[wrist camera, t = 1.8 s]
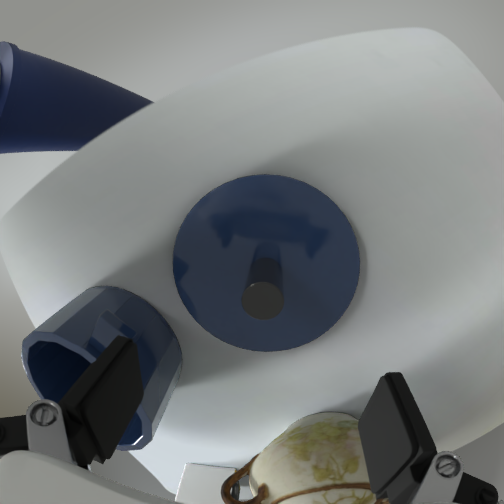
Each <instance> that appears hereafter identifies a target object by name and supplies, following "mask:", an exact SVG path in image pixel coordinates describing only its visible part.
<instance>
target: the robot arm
mask: <svg viewBox="0 0 504 504" xmlns="http://www.w3.org/2000/svg"><path fill="white" fill-rule="evenodd" d="M0 79H1V69H0ZM143 396H144V390H143V384H142V378H141V371H140V364H139V357H138V349H137V344H136V343H134V342H133V339H131V338H127V337H124V336H120V335H118V336H117V337H116V338H115V339H114V340H113V341H112V342H111V343H110V344H109V346H108V347H107V348H106V349H105V350H104V351H103V352H102V354H101V355H100V356H99V357H98V358H97V359H96V360H95V362H93V363H91V364H90V366H89V367H88V368H87V369H86V370H85V371H84V373H83V374H82V375H81V376H80V377H79V378H78V380H77V381H76V382H75V383H74V384H73V386H72V387H71V388H70V389H69V390H68V392H67V393H66V394H65V395H64V396H63V398H62V399H61V400H60V401H59V402H58V404H57V403H55V402H54V401H51V400H48V399H42V400H37V401H35V402H34V403H32V404H31V405H30V406H29V407H28V409H27V412H26V415H22V416H14V417H5V418H0V504H184V503H180V502H176V501H172V500H168V499H165V498H161V497H158V496H154V495H151V494H148V493H145V492H142V491H139V490H136V489H133V488H131V487H128V486H125V485H122V484H120V483H117V482H114V481H112V480H109V479H107V478H104V477H102V476H100V475H97V474H95V473H93V472H92V471H91V468H90V464H91V462H92V460H95V461H97V462H99V463H102V464H103V463H104V461H105V460H106V459H110V458H111V456H112V455H113V453H114V451H115V449H116V447H117V445H118V443H119V441H120V440H121V438H122V436H123V434H124V432H125V430H126V429H127V427H128V425H129V423H130V421H131V419H132V418H133V416H134V414H135V412H136V410H137V408H138V407H139V405H140V403H141V401H142V399H143ZM358 431H359V435H360V439H361V444H362V448H363V453H364V458H365V462H366V467H367V472H368V477H369V482H370V488H371V492H372V493H373V494H375V496H376V500H377V499H383V498H388V500H389V504H504V501H502V500H500V501H499V502H498V492H497V490H496V488H495V487H494V486H493V485H491V484H489V483H487V482H485V481H482V480H480V479H478V478H475V477H473V476H471V475H469V474H466V473H464V472H463V470H464V465H463V461H462V460H461V458H460V457H459V456H458V455H457V454H455V453H453V452H450V451H443V452H440V453H437V450H436V446H435V444H434V442H433V439H432V437H431V435H430V432H429V430H428V428H427V425H426V423H425V421H424V419H423V417H422V414H421V412H420V410H419V408H418V406H417V404H416V402H415V399H414V397H413V395H412V393H411V391H410V389H409V387H408V385H407V383H406V381H405V379H404V377H403V375H402V374H401V373H400V372H388V373H386V374H385V375H384V376H382V377H381V378H380V380H379V382H378V384H377V386H376V388H375V390H374V392H373V394H372V396H371V398H370V400H369V402H368V404H367V406H366V408H365V410H364V412H363V414H362V416H361V417H360V419H359V422H358Z"/></svg>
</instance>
